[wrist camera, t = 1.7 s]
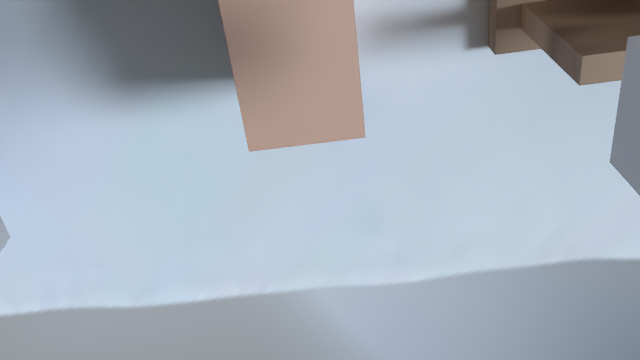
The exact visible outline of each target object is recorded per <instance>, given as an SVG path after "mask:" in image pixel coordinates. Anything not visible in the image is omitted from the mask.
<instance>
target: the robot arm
mask: <svg viewBox="0 0 640 360" xmlns="http://www.w3.org/2000/svg"><path fill="white" fill-rule="evenodd" d="M610 163H611V164H612V165H613V166H614V167H615V168H616V169H617V171H618V172H619V173H620V174H621V175H622V176H623V177H624V178H625V180H626V181H627V182H628V183H629V184H630V185H631V186H632V187H633V189H634V190H635V191H636V192H637V193H638V194H639V195H640V35H638V36H630V37H628V40H627V47H626V54H625V61H624V68H623V75H622V81H621V88H620V95H619V102H618V109H617V116H616V123H615V130H614V137H613V144H612V151H611V157H610ZM9 238H10V235H9V233H8V231H7V229H6V227H5V225H4V223H3V221H2V219H1V217H0V252H1V250H2V249H3V247H4V246H5V244H6V243H7V241H8V240H9Z"/></svg>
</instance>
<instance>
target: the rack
mask: <svg viewBox="0 0 640 360" xmlns="http://www.w3.org/2000/svg"><path fill="white" fill-rule="evenodd" d="M638 35H640V0H490V11H489V48H490V49H491V50H492V51H493V53H494V54H495V55H496V54H504V53H511V52H519V51H527V50H534V49H542V50H543V51H544V52H546V53H547V54H548V55H549V56H550V57H551V58H552V59H553V60H554V61H555V62H556V63H557V64H558V65H559V66H560V67H561V68H562V69H563V70H564V71H565V72H566V73H567V74H568V75H569V76H570V77H571V78H572V79H573V80H574V81H575V82H576V83H577V84H579V85H587V84H595V83H602V82H610V81H618V80H622V75H623V68H624V61H625V54H626V47H627V40H628V37H630V36H638Z"/></svg>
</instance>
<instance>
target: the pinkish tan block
mask: <svg viewBox="0 0 640 360" xmlns="http://www.w3.org/2000/svg"><path fill="white" fill-rule="evenodd" d="M218 3H219V8H220V12H221V17H222V22H223V27H224V32H225V37H226V42H227V47H228V51H229V56H230V61H231V66H232V71H233V76H234V81H235V85H236V90H237V95H238V100H239V105H240V110H241V115H242V120H243V124H244V129H245V134H246V139H247V144H248V149H249V152H250V151H258V150H266V149H274V148H282V147H291V146H299V145H307V144H315V143H324V142H332V141H340V140H348V139H357V138H365V127H364V115H363V104H362V93H361V81H360V70H359V59H358V47H357V36H356V25H355V13H354V2H353V0H218Z"/></svg>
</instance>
